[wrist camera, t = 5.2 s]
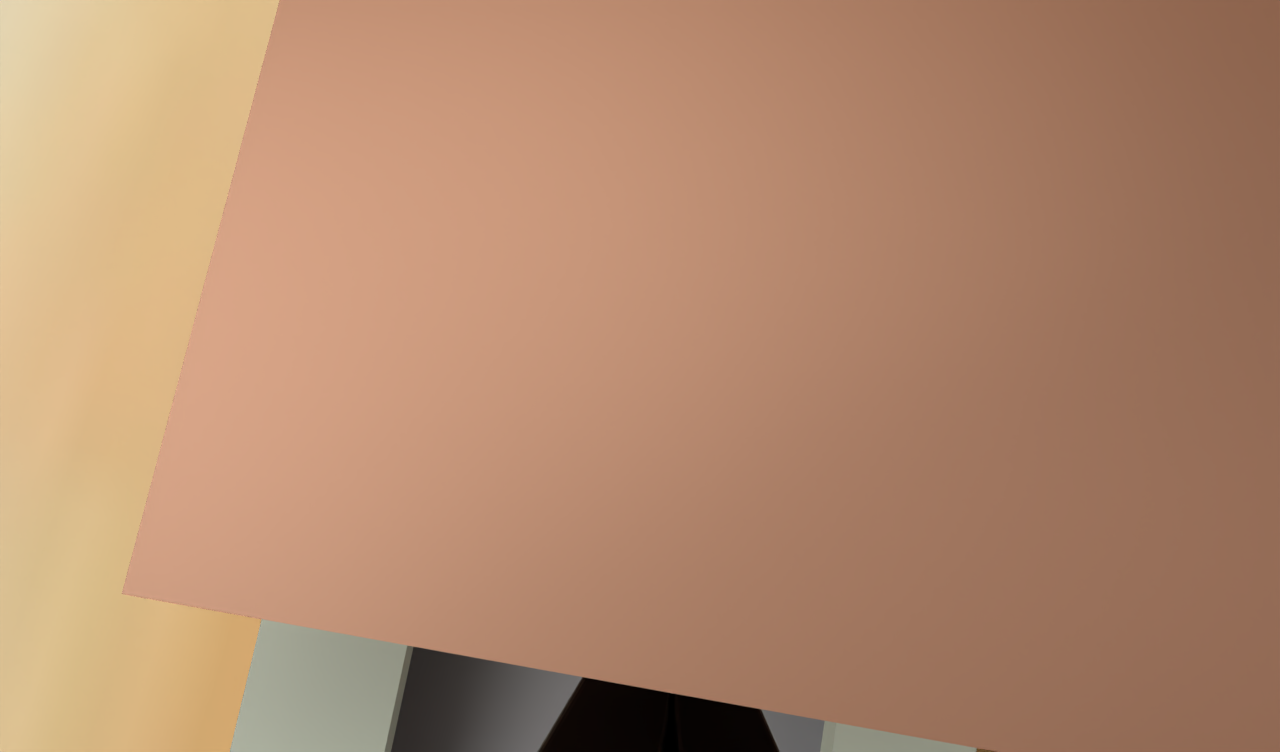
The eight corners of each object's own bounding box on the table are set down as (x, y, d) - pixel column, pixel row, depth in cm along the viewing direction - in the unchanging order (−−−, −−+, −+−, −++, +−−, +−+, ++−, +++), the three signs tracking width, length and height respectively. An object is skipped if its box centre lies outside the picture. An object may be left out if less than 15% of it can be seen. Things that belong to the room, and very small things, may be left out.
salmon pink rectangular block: (838, 674, 15) (1748, 1185, 3) (404, 595, 15) (-260, 842, 3) (897, 258, 17) (1731, -459, 5) (495, 179, 16) (254, -791, 4)
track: (796, 1403, 15) (866, 1686, 12) (170, 1304, 15) (34, 1562, 11) (954, 218, 19) (1048, 140, 15) (443, 117, 18) (408, 12, 15)
